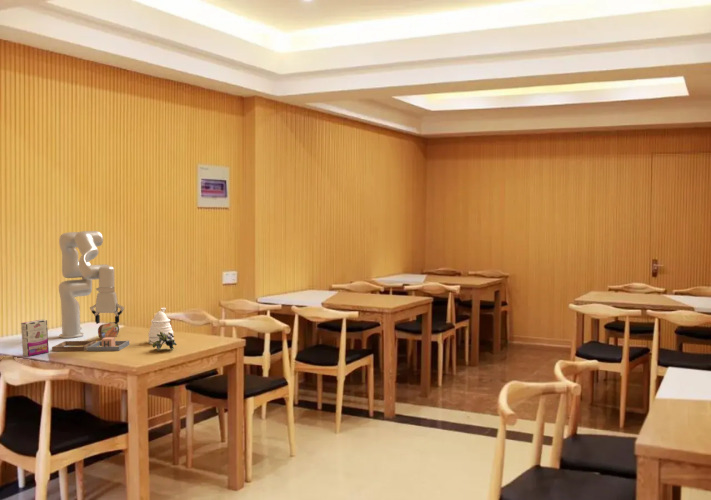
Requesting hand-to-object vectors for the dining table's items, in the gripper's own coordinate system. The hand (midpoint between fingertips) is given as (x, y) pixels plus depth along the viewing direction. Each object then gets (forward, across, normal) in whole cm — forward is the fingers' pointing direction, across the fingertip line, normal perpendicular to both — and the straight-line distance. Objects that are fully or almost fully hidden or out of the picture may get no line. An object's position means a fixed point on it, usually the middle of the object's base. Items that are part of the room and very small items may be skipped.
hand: (107, 323), depth 348 cm
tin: (+14, -9, +27) cm, 32 cm away
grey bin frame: (+12, +1, -1) cm, 13 cm away
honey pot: (+13, +24, +13) cm, 30 cm away
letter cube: (+13, +1, -1) cm, 13 cm away
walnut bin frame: (+13, -17, 0) cm, 22 cm away
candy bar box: (+13, -30, -15) cm, 36 cm away
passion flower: (+12, +31, -9) cm, 35 cm away
